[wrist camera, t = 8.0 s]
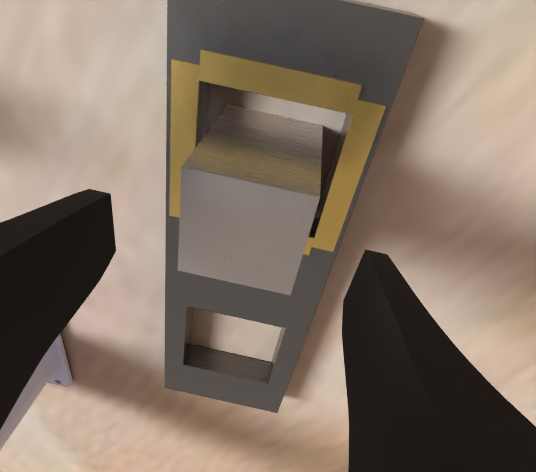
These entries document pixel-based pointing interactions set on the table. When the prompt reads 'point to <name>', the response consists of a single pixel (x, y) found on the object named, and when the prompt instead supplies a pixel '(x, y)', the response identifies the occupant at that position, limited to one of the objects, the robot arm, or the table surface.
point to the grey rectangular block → (250, 199)
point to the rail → (339, 178)
